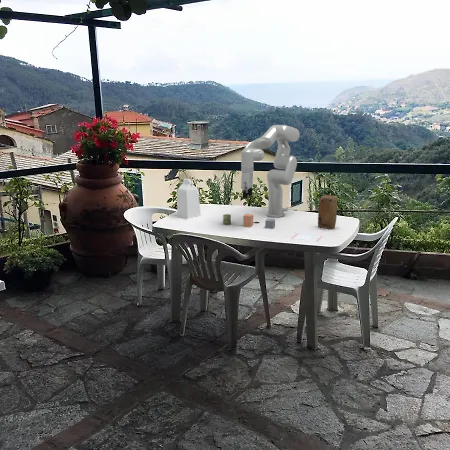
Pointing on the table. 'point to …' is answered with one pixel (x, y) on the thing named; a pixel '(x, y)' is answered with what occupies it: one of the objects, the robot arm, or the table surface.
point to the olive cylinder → (227, 219)
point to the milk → (188, 200)
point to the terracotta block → (248, 220)
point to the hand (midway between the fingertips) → (247, 197)
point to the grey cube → (270, 223)
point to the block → (327, 211)
